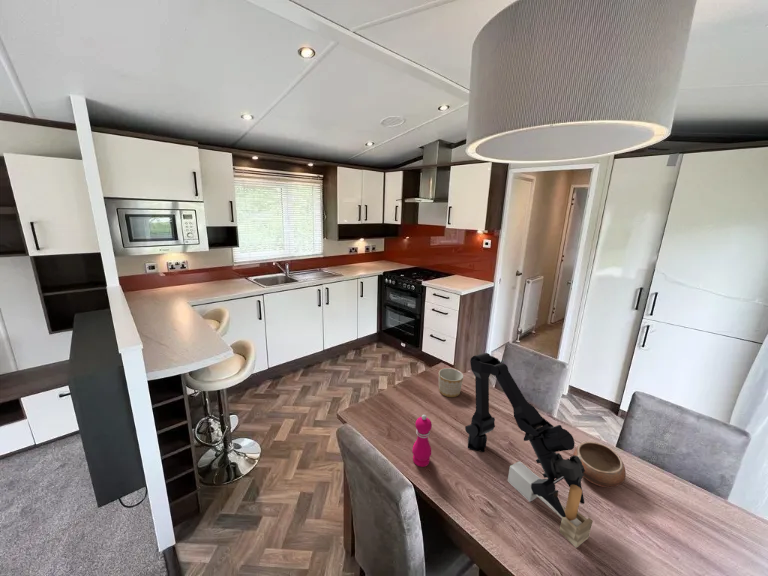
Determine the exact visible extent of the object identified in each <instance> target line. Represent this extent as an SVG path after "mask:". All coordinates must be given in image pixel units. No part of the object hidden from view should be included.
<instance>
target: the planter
mask: <svg viewBox="0 0 768 576" xmlns="http://www.w3.org/2000/svg"><path fill="white" fill-rule="evenodd" d="M463 379H464V374H463V372H461V371H460V370H458V369H455V368H452V367H448V368H446V367H445V368H441V369H440V370H439V371H438V391H439V393H440V394H441V395H443V396H444V397H447V398H456V397H458V396H460V394H461V390H462V385H463Z"/></svg>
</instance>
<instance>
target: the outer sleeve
mask: <svg viewBox="0 0 768 576" xmlns="http://www.w3.org/2000/svg"><path fill="white" fill-rule="evenodd" d="M508 469H509V470H508V476H507V482H508V483H509V484H510V485H511V486H512V487H514V489H515V490H516V491H518V493H520V495H521V496H523V497H524V498H525V499H526V500H527V501H528V502H529V503H531V502H532V501H534V500H536V499H537V498H539V497H538V496H536V495H534V494H533V491H532V489H531V483H533V482H535V481H536V480H538V479H541V478H540V477H539V476H538V475H537V474H536V473H534V472H533V471H532V470H531V469H530V468H529V467H527V466H526V465H525V464H524V463H523V462H522V461H517V462H515V463H513V464H511V465H510V466H509V468H508Z"/></svg>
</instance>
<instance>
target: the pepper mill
mask: <svg viewBox="0 0 768 576" xmlns="http://www.w3.org/2000/svg"><path fill="white" fill-rule="evenodd" d="M415 429H416V431H415V433H416V435H417V438H416V440H415V442H414V443H413V446H412V451H411V452H412V461H413V463H414V464H415V465H416V466H417V467H419V468H420V467H421V468H423V467H427V466H428V465H429V464H430V457H431V456H432V447H431V444H430V442H429V437H430V435H431V430H432V421H431V420H430V418H429V417H427V415H426V414H422V415H421V416H419V417H418V418H417V419H416V420H415Z"/></svg>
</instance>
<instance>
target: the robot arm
mask: <svg viewBox="0 0 768 576" xmlns="http://www.w3.org/2000/svg"><path fill="white" fill-rule="evenodd" d="M469 361H470V362H469V363H470V371H471V372H472V373H473V375H474V376H475V377H474V378H475V411H474V413H473V414H472V417H471V421H470V422H471V423H470V424H468V425H465V427H464V428H465V432H466V433H467V434H468V438H467V449H470V450H472V451H473V450H474V451H477V452H482V453H484V452H485V451H486V450H485V448H487V442H488V441H487V440H488V437H487V436H488V435H487V434H488V433H490V432H493V431H494V428H496V425H495V421H496V419H495V417H493V416H492V414H491V413H490V399H489V398H490V391H489V390H490V382H489V381H490V380H489V379H490V376H491V375H492V376H494V377H495V379H496V380H497V381H498V384H499V386H500V387H501V389H502V390H503V392H504V395H505V396H506V398H507V400H508V401H509V403H510V405H511V407H512V408H513V410H512V411H513V418H514V420H515V422H516V425H517V426H518V428H519V430H521V431H522V432H524V437H523V442H527V441H528V442H529V443H530V445H531V447H532V449H533V451H534V453H535V455H536V457H537V458H536V459H535V462H536V464H540V465H541V468H542V470H543V472H544V473H542V476H543V478H544V479H543V478H540V479H538V480H536V481H535V482H533V483H531V489H532V491H533V494H534V495H538V496H542V497H543V498H544V499H545V500H546V501H547V502H548V503H549V504H550V505H551V506H552V507H553V508H554V509H555V510H556V511H557V512H558V513H559V514H560V515H561V516H562V517H566V515H565V512H564V509H563V507H564V506H563V505H562V503H561V501H560V499H559V497H558V496H559V489H558V490H557V489H556V484H557V483H560V481H562V480H564V481H565V483H566V484H567V486H568V487H569V488H570V486H571V485H577V486H578V487H580V488H581V490H582V495H581V499H580V503H579V504H583V505H584V504H585V499H584V493H583V487H582V483H581V482H582V478H584V477H583V476H584V474H583V472H585V469H584V466H583V465H582V462H581V460H580V459H579V457H578V456H575V455H573V454H572V456H570V457H569V458H567V459H564V458H563V456H562V455H561V454H560V452H566V451H571V450H572V451H573V450H574V448H575V445H576V443H575V439H574V436H573V434H572V433H570V432H569V431H568V430H567V429H565V428H563V426H562V425H561V424H558V425H553V424H551V423H550V421H548V420H547V419H545V418H544V417H543V416H542V414H540V413H539V411H538V410H537V408H536V407H535V406H533V405H532V404H531V403H530V402H528V400H527V399H526V398H525V397H524V394H523V393H522V391H521V390H520V387H519V386H518V385H517V383H516V381H515V379H514V377H513V376H512V375H511V373H510V371H509V367H508V365H507V364H506V363H504V362H501V361H500V360H499V358H497V357H494V356H492V355H491V354H490V353H488V352H484V353H479V354H477V355H473V356H471V358H470V360H469ZM562 506H563V507H562Z"/></svg>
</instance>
